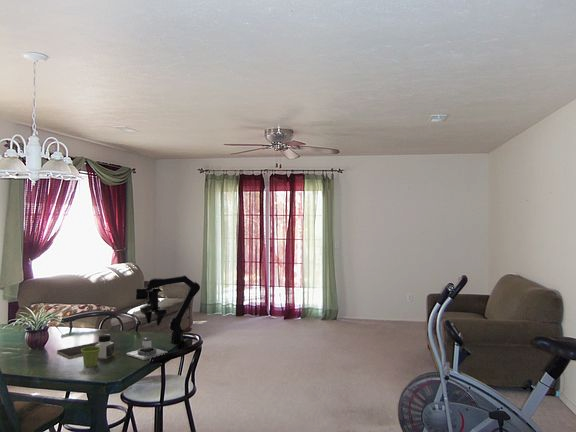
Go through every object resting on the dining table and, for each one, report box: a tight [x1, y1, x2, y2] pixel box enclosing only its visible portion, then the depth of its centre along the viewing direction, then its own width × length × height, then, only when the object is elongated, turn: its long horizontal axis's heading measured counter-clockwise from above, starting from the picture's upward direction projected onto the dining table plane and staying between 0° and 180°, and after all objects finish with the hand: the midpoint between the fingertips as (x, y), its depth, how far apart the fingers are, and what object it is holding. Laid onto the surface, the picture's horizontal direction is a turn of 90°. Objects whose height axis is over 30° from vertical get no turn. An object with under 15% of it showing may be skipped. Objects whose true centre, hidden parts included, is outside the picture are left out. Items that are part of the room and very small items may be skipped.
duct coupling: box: [141, 336, 153, 352], centre depth 254 cm, size 5×5×8 cm
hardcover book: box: [56, 341, 99, 359], centre depth 260 cm, size 16×23×2 cm
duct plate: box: [126, 347, 169, 361], centre depth 254 cm, size 16×16×2 cm
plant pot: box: [81, 347, 101, 368], centre depth 234 cm, size 9×9×9 cm
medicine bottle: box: [95, 333, 115, 359], centre depth 250 cm, size 7×7×12 cm
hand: (153, 324), depth 275 cm, fingers open, 9 cm apart
